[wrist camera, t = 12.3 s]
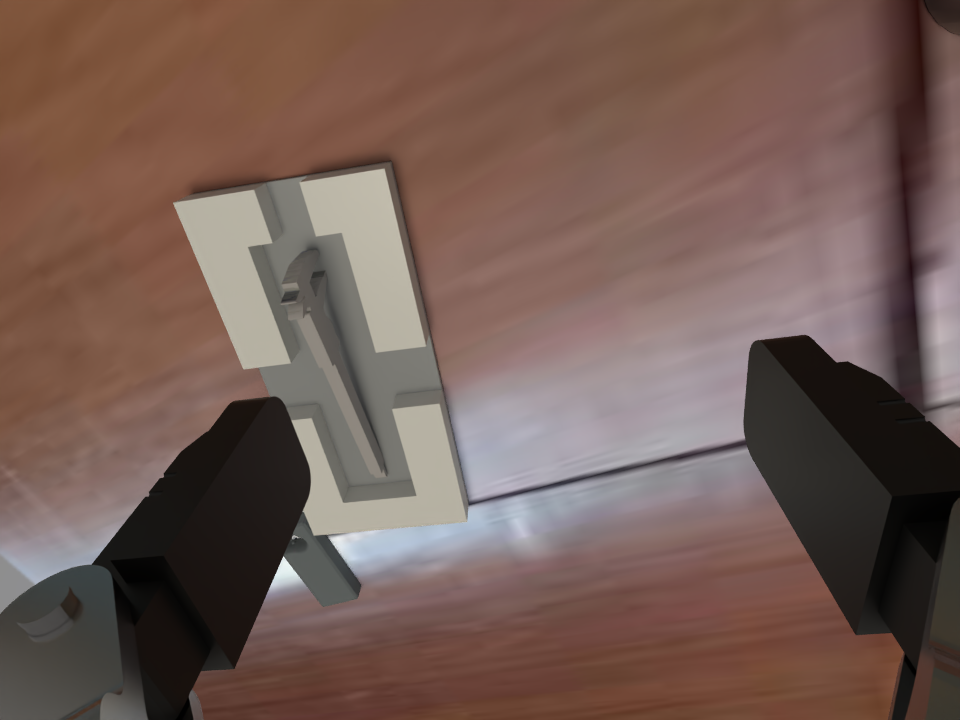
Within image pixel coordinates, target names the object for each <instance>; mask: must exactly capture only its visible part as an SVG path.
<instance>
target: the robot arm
mask: <svg viewBox="0 0 960 720" xmlns="http://www.w3.org/2000/svg"><path fill="white" fill-rule="evenodd" d="M925 3H926V5H927V8H928V11H929V12H930V13H931V15H932V16H933V17H934V19H935V20H936V21H937V23H938V24H940V25H941V26H942V27H944V28H945V29H947V30H948V31H950V32H951V33H954V34H957V35H960V0H925ZM744 434H745V439H746V443H747V447H748V450H749V453H750V455H751V457H752V459H753V461H754V462H755V464H756V466H757V467H758V469H759V471H760V473H761V474H762V476H763V478H764V479H765V481H766V483H767V484H768V486H769V488H770V490H771V491H772V493H773V495H774V496H775V498H776V500H777V502H778V503H779V505H780V507H781V508H782V510H783V512H784V513H785V515H786V517H787V519H788V520H789V522H790V524H791V525H792V527H793V529H794V530H795V532H796V534H797V536H798V537H799V539H800V541H801V542H802V544H803V546H804V548H805V549H806V551H807V553H808V554H809V556H810V558H811V559H812V561H813V563H814V565H815V566H816V568H817V570H818V571H819V573H820V575H821V576H822V578H823V580H824V582H825V583H826V585H827V587H828V588H829V590H830V592H831V594H832V595H833V597H834V599H835V600H836V602H837V604H838V605H839V607H840V609H841V611H842V612H843V614H844V616H845V617H846V619H847V621H848V622H849V624H850V626H851V628H852V629H853V631H854V633H855V634H856V635H865V634H882V633H892V634H893V635H894V637H895V639H896V640H897V642H898V643H899V645H900V646H901V648H902V649H903V651H904V653H903V656H902V659H901V662H900V665H899V668H898V673H897V678H896V683H895V688H894V693H893V697H892V702H891V707H890V712H889V717H888V720H960V448H959V447H958V446H957V445H956V444H955V443H954V442H952V441H951V440H950V439H949V438H948V437H947V436H946V435H945V434H944V433H942V432H941V431H940V430H939V429H938V428H937V427H936V426H935V425H934V424H932V423H931V422H930V421H928V422H926V421H925V416H924V415H923V414H921V413H920V412H919V411H918V410H917V409H916V408H915V407H914V406H913V405H911V404H910V403H905V398H904V397H903V396H901V395H900V394H899V393H898V392H897V391H896V390H895V389H894V388H893V387H891V386H890V385H889V384H888V383H887V382H886V381H885V380H884V379H883V378H881V377H879V376H877V375H875V374H873V373H871V372H869V371H867V370H864V369H862V368H860V367H858V366H856V365H854V364H852V363H850V362H848V361H847V362H838V363H836V362H835V361H834V360H833V359H832V358H831V357H830V356H829V355H828V354H827V353H826V352H825V351H824V350H823V349H822V348H821V347H820V346H819V345H818V344H817V343H816V342H815V341H814V340H813V339H812V338H810V337H809V336H807V335H799V336H791V337H782V338H774V339H765V340H757V341H755V342H753V344H752V345H751V348H750V352H749V360H748V372H747V384H746V397H745V409H744ZM310 488H311V473H310V468H309V464H308V461H307V459H306V456H305V454H304V451H303V449H302V446H301V443H300V441H299V438H298V436H297V433H296V431H295V428H294V426H293V423H292V421H291V418H290V416H289V413H288V411H287V408H286V406H285V404H284V403H283V401H282V400H281V399H280V398H278V397H276V396H272V397H263V398H255V399H246V400H238V401H233V402H232V403H230V404H229V405H228V406H227V408H226V409H225V410H224V412H223V413H222V414H221V416H220V417H219V418H218V420H217V421H216V422H215V424H214V425H213V426H212V427H211V429H210V430H209V431H208V432H206V433H204V434H203V435H202V436H201V437H199V438H198V439H197V440H195V441H194V442H193V443H192V444H190V445H189V446H188V447H186V448H185V449H184V450H183V451H181V452H180V454H179V455H178V456H177V457H176V459H175V460H174V461H173V462H172V464H171V465H170V466H169V467H168V469H167V470H166V471H165V473H164V478H160V479H159V480H158V481H157V483H156V484H155V485H154V486H153V488H152V489H151V490H150V491H149V497H145V498H144V499H143V500H142V502H141V503H140V504H139V505H138V507H137V508H136V509H135V510H134V512H133V513H132V514H131V515H130V517H129V518H128V519H127V521H126V522H125V523H124V524H123V526H122V527H121V528H120V529H119V531H118V532H117V533H116V534H115V536H114V537H113V538H112V539H111V541H110V542H109V543H108V545H107V546H106V547H105V548H104V550H103V551H102V552H101V553H100V555H99V556H98V557H97V558H96V560H95V561H94V562H93V563H92V565H83V566H77V567H73V568H70V569H67V570H64V571H61V572H59V573H57V574H54V575H52V576H50V577H48V578H46V579H45V580H43V581H41V582H39V583H38V584H36V585H34V586H33V587H31V588H30V589H28V590H27V591H26V592H25V593H23V594H22V595H20V596H19V597H18V598H17V599H15V600H14V601H13V602H12V603H11V604H9V605H8V607H6V608H5V609H4V610H3V612H2V613H1V614H0V720H204V718H203V714H202V710H201V705H200V702H199V699H198V697H197V695H196V694H195V692H194V691H193V690H192V688H193V686H194V684H195V682H196V680H197V678H198V676H199V674H200V672H201V671H209V670H226V669H235V666H236V664H237V662H238V659H239V657H240V655H241V652H242V650H243V648H244V645H245V643H246V641H247V639H248V636H249V634H250V632H251V629H252V627H253V625H254V622H255V620H256V618H257V615H258V613H259V611H260V609H261V606H262V604H263V602H264V599H265V597H266V595H267V592H268V590H269V588H270V585H271V583H272V581H273V579H274V576H275V574H276V572H277V569H278V567H279V565H280V562H281V560H282V558H283V555H284V553H285V551H286V549H287V546H288V544H289V542H290V539H291V537H292V535H293V532H294V530H295V528H296V525H297V523H298V521H299V519H300V516H301V514H302V512H303V509H304V507H305V505H306V502H307V500H308V497H309V494H310Z"/></svg>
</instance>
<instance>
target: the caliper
mask: <svg viewBox="0 0 960 720" xmlns="http://www.w3.org/2000/svg"><path fill="white" fill-rule="evenodd" d="M318 257H319V253H318V251H317V250H309V251H302V252H301V253H300V254H299V255H298V256H297V257H296V258H295V259H294V260H293V261H292V262H291V264H290V265H289V266H288V269H287V271H286V274H285V277H284V279H283V282H282V287H283V289H284V292H285V294H284V296H283V298H282V301H281V303H280V304H281V305H287V304H289V306H288V320H297V322H298V324H299V326H300V328H301V330H302V332H303V334H304V337H305V339H306V341H307V343H308V345H309V347H310V349H311V352H312V354H313V356H314V358H315V360H316V362H317V364H318V367H319V368H323V371H324V373H325V375H326V377H327V379H328V382H329V384H330V386H331V388H332V390H333V393H334V395H335V397H336V399H337V402H338V404H339V406H340V408H341V410H342V413H343V415H344V417H345V419H346V421H347V424H348V426H349V428H350V430H351V433H352V435H353V437H354V439H355V441H356V444H357V446H358V448H359V450H360V452H361V455H362V457H363V459H364V461H365V463H366V465H367V468H368V470H369V472H370V474H371V475H372V474H374V476H375V478H382V477H387V476H388V475H387V472H386V469H385V467H384V458H383V456H382V453H381V451H380V448H379V446H378V444H377V441H376V439H375V437H374V434H373V432H372V430H371V427H370V425H369V422H368V420H367V418H366V415H365V413H364V411H363V408H362V406H361V403H360V401H359V399H358V396H357V394H356V391H355V389H354V387H353V384H352V382H351V379H350V377H349V375H348V372H347V370H346V367H345V365H344V363H343V360H342V358H341V355H340V353H339V351H338V349H339V345H340V341H339V338H338V337H337V335H336V333H335V330H334V327H333V324H332V323H331V321H330V320H329V318H328V317H327V316H326V314H325V311H324V300H325V292H326V284H327V273H326V271H320V272H313V271H314V268H315V265H316V262H317V259H318Z"/></svg>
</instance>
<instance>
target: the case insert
mask: <svg viewBox="0 0 960 720" xmlns="http://www.w3.org/2000/svg"><path fill="white" fill-rule="evenodd" d="M173 204H174V206H175V208H176V211H177V213H178V215H179V218H180V220H181V222H182V225H183V227H184V230H185V232H186V234H187V237H188V239H189V241H190V244H191V246H192V249H193V251H194V253H195V256H196V258H197V260H198V263H199V265H200V267H201V270H202V272H203V275H204V277H205V279H206V282H207V284H208V286H209V289H210V291H211V293H212V296H213V298H214V301H215V303H216V305H217V308H218V310H219V312H220V315H221V317H222V320H223V322H224V324H225V327H226V329H227V331H228V334H229V336H230V338H231V341H232V343H233V346H234V348H235V350H236V353H237V355H238V357H239V360H240V362H241V364H242V367H243V369H250V368H259V370H260V373H261V375H262V377H263V380H264V382H265V385H266V387H267V390H268V392H269V395H270V397H272V396H276V397H278V398H280V399H281V400H282V401H283V403H284V404H285V406H286V408H287V411H288V413H289V416H290V418H291V421H292V423H293V426H294V428H295V431H296V433H297V436H298V438H299V441H300V443H301V446H302V449H303V451H304V454H305V456H306V459H307V461H308V464H309V468H310V473H311V488H310V494H309V497H308V500H307V502H306V505H305V507H304V509H303V511H304V514H305V516H306V518H307V521H308V523H309V525H310V528H311V530H312V532H313V535H314V536H315V535H326V534H338V533H349V532H360V531H371V530H383V529H394V528H405V527H416V526H428V525H439V524H450V523H461V522H467V518H468V505H469V500H468V496H467V492H466V487H465V483H464V478H463V474H462V470H461V465H460V461H459V456H458V452H457V447H456V443H455V439H454V434H453V430H452V425H451V421H450V417H449V412H448V408H447V403H446V399H445V394H444V390H443V386H442V381H441V377H440V372H439V368H438V364H437V359H436V355H435V350H434V346H433V341H432V337H431V333H430V328H429V324H428V319H427V315H426V311H425V306H424V302H423V297H422V293H421V289H420V284H419V280H418V275H417V271H416V266H415V262H414V258H413V253H412V249H411V244H410V240H409V236H408V231H407V227H406V222H405V218H404V213H403V209H402V205H401V200H400V196H399V191H398V187H397V183H396V178H395V174H394V169H393V165H392V161H389V162H383V163H377V164H370V165H364V166H358V167H352V168H346V169H340V170H334V171H328V172H322V173H315V174H309V175H303V176H297V177H291V178H285V179H279V180H273V181H266V182H260V183H254V184H248V185H242V186H236V187H230V188H224V189H218V190H211V191H205V192H199V193H193V194H190V195H188V196H186V197H184V198H182V199H180V200H178V201H176V202H174V203H173ZM309 250H317V251H318V253H319V257H318V259H317V262H316V265H315V268H314V271H313V272H320V271H326V273H327V284H326V292H325V300H324V311H325V314H326V316H327V317H328V318H329V320H330V321H331V323H332V324H333V327H334V330H335V333H336V335H337V337H338V338H339V341H340V345H339V349H338V351H339V353H340V355H341V358H342V360H343V363H344V365H345V367H346V370H347V372H348V375H349V377H350V379H351V382H352V384H353V387H354V389H355V391H356V394H357V396H358V399H359V401H360V403H361V406H362V408H363V411H364V413H365V415H366V418H367V420H368V422H369V425H370V427H371V430H372V432H373V434H374V437H375V439H376V441H377V444H378V446H379V448H380V451H381V453H382V456H383V458H384V467H385V469H386V472H387V475H388V476H387V477H382V478H375V476H374V474H372V475H371V474H370V472H369V470H368V468H367V465H366V463H365V461H364V459H363V457H362V455H361V452H360V450H359V448H358V446H357V444H356V441H355V439H354V437H353V435H352V433H351V430H350V428H349V426H348V424H347V421H346V419H345V417H344V415H343V413H342V410H341V408H340V406H339V404H338V402H337V399H336V397H335V395H334V393H333V390H332V388H331V386H330V384H329V382H328V379H327V377H326V375H325V373H324V371H323V368H319V367H318V364H317V362H316V360H315V358H314V356H313V354H312V352H311V349H310V347H309V345H308V343H307V341H306V339H305V337H304V334H303V332H302V330H301V328H300V326H299V324H298V322H297V320H288V306H289V304H287V305H281V304H280V303H281V301H282V298H283V296H284V294H285V292H284V289H283V287H282V282H283V279H284V277H285V274H286V271H287V269H288V266H289V265H290V264H291V262H292V261H293V260H294V259H295V258H296V257H297V256H298V255H299V254H300V253H301V252H302V251H309Z"/></svg>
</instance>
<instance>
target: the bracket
mask: <svg viewBox="0 0 960 720" xmlns="http://www.w3.org/2000/svg"><path fill="white" fill-rule="evenodd" d="M293 535H296V536H297V537H301V538H303V539H301V538H298V539H294V540H292V537H291V539H290V542H289V544H288V546H287V549H286V551H285V553H284V555H283V556H284V557H285V559H286V560H287V561H288V562H289V564H290V565H291V566H292V568H293V569H294V570H295V572H296V573H297V574H298V575H299V577H300V578H301V579H302V581H303V582H304V583H305V584H306V586H307V587H308V588H309V590H310V591H311V592H312V594H313V595H314V596H315V597H316V599H317V600H318V601H319V603H320V604H321V605H322V606H323V607H325V606H329V605H333V604H338V603H342V602H346V601H350V600H355V599H357V598H358V596H359V592H360V588H361V584H360V583H359V581H358V580H357V578H356V577H355V575H354V574H353V573H352V571H351V570H350V568H349V567H348V566H347V564H346V563H345V561H344V560H343V558H342V557H341V556H340V554H339V553H338V551H337V550H336V548H335V547H334V546H333V544H332V543H331V541H330V540H329V539H328V537H327V536H326V535H315V536H314V535H313V532H312V530H311V528H310V525H309V523H308V521H307V518H306V516H305V514H304V512H302V514H301V516H300V519H299V521H298V523H297V525H296V528H295V530H294V532H293Z"/></svg>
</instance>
